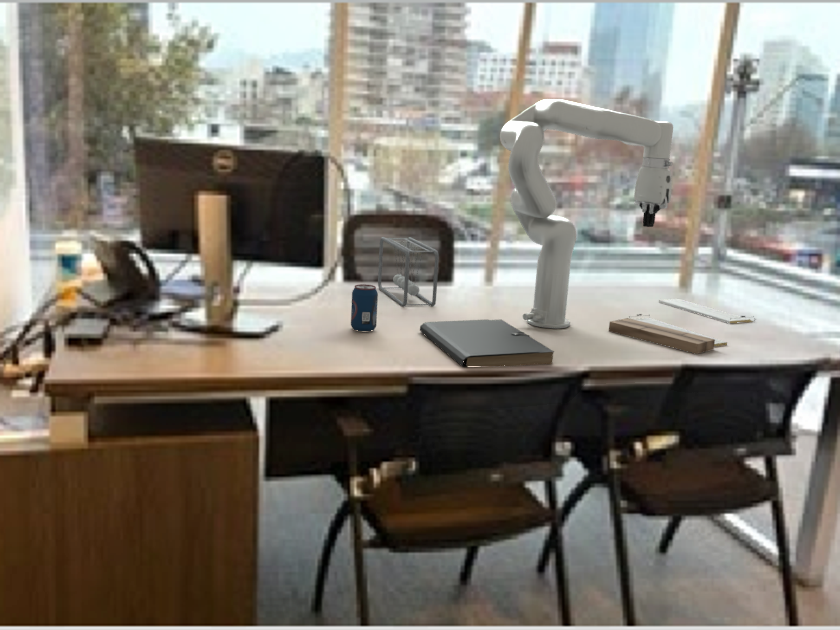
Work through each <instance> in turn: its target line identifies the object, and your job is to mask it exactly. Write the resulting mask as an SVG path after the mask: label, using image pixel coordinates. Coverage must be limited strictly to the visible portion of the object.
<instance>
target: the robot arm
mask: <svg viewBox="0 0 840 630" xmlns="http://www.w3.org/2000/svg"><path fill="white" fill-rule="evenodd" d="M547 130H550V131H558V132H562V133H566V134H572V135H577V136H582V137H585V138H589V139H595V140H603V141H604V140H608V141H609V140H611V141H619V142H621V143H623V144H624V145H628V146H634V147H635V146H637V147H643V155H642V163H641V164H642V165H641V167H639V170H638V173H637V176H636V177H637V178H636V182H635V186H634V195H633V196H634V197H633V198H634V202H633V203H634V205H635V206H638V207H640V209H641V211H642V213H643V216H642V217H643V219H642V222H643V223H642V226H643V227H646V228H652V227H654V226H655V223H656V222H655V220H656V214H657V213H658V212H659V211H660V210H663V209H668V205H669V203H671V198H672V188H673V187H672V185H673V183H672V171H671V169H669V168H670V167H672V166H673V161H671V159H670V158H671V151H672V150H671V149H672V143H673V142H672V140H673V134H674V125H673V123H672V122H669V121H663V120H661V121H660V120H654V119H650V118H647V117H643V116H638V115H634V114H629V113H623V112H619V111H614V110H610V109H607V108H601V107H596V106H592V105H588V104H583V103H579V102H576V101H570V100H566V99H561V98H544V99H542V100H540V101H537V102H535V104H533V105H531V106H529V107H528V108H526V109H525V110H523V111H522V112H520V113H519V114H518V115H516V116H514V117H513V118H511V119H510V120H508V121H507V122H506V123H504V125H503V126H502V128H501V130H500V134H499V139H500V143H501V145H502V147H503V148H505V149H506V150H507V151H510V154H509V158H508V166H507V169H508V174H509V178H510V180H511V182H512V184H513V186H514V188H513V189H512V191H511V195H510V203H511V208H512V210H513V212H514V214H515V216H516V217H517V219H518V221H519V223H520V224H521V226H522V228H523V230H524V231H525V233H526V235H527V236H528V238H529V239H530V240H531V241H532V242H534V243H536V244H538V245H540V246H541V250H540V252H539V255H538V258H537V263H536V272H535V273H536V275H535V284H534V285H535V287H534V295H533V296H534V297H533V307H532V308H531V309H530V310H531V311H530V312H526V313H524V314H523V315H522V319H523V320H524V321H526V322H527V323H528V324H529V325H531V326H535V327H538V328H544V329H545V328H546V329H564V328H568V327H570V326H571V321H570V320H569V319H567V318H566V314H567V306H568V305H567V303H568V295H569V293H568V292H569V282H570V273H571V272H570V271H571V263H572V257H573V252H574V248H575V245H576V240H577V229H576V226H575V225H574V223H573V222H572V221H571V219H568V218H567V217H563V216H561V215H557V214H554V213H555V210H556V209H557V199H556V196H555V194H554V192H553V190H552V189H551V187H550V185H549V183H548V181H547V180H546V177H545V176H544V174H543V172H542V169H541V167H540V163H539V158H540V153H541V150H542V148H543V145H544V143H545V131H547Z"/></svg>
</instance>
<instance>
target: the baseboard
mask: <svg viewBox="0 0 840 630" xmlns="http://www.w3.org/2000/svg"><path fill="white" fill-rule="evenodd" d="M639 316H643V314H642V313H639V314H636V315H635V316H632V317H639ZM647 316H648V317H647ZM628 317H629V318H631V315H630V316H628ZM633 319H634V320H638V321H642V322H646V323H650V324H654V325H658V326H662V327H666V328H670V329H674V330H678V331H682V332H686V333H691V334H695V335H699V336H703V337H707V338H711V339H715V343H714V346H716V347H721V346H720V345H725V346H727V345H728V342H727V341H724V340H722V339H718V338H715V337H711V336H709V335H705V334H702V333H699V332H696V331H692V330H689V329H688V328H684V327H680V326H678V325H677V326H676V325H673V324H670V323H668V322H664V321H661V320H658V319H656V318H651V317H650V314H648V315H644V317H643V318H642V317H640V318H633Z"/></svg>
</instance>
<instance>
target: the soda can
mask: <svg viewBox="0 0 840 630" xmlns="http://www.w3.org/2000/svg"><path fill="white" fill-rule="evenodd" d="M378 293H379V292H378V290H377V286H375V285H373V284H365V283H364V284H355V285H354V287H353V289H352V291H351V312H350V326H351V328H352V330H353V329H354V330H358V331H371V330H373V331H375V329H376V327H377V324H378V323H377V319H378V317H377V315H378V297H379V294H378ZM354 330H353V331H354Z"/></svg>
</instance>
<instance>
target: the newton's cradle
mask: <svg viewBox="0 0 840 630" xmlns="http://www.w3.org/2000/svg"><path fill="white" fill-rule="evenodd" d="M396 240H404V241H406V242H405V245H403V244H402V243H400V242H398V241H396ZM384 242H385V243H387V244H389V245H390V246H392V247H394V249H397V251H398V252H397V251H394V255H395V257H397V254H396V252H397V253H398V254H400V252H401V253H404V256H403V255H401V258H402V263H401V264H399V268H400V272H399V271H398V270H399V269H398V267H396V268H397V269H396V270H397V274H396V275H394V276H393V278H392V279H393V280H392V283H393V284H394V285H395V286H396V287H395V286H394V287H393V286H392V287H391V286H389V287H386V286H385V287H383V286H382V285H383V284H382V274H383V273H382V272H383V251H384V250H383V249H384ZM413 246H414V247H413ZM412 247H413V249H412ZM416 247H417V250H416ZM420 249H421V250H420ZM378 251H379V252H378V270H377V271H378V276H377V287H378V289H379V290H380V289H381V290H382V292H383V293H384V292H385V293H386V294H385V293H384V294H385V295H387V296H388V295H389V296H390V297H389V296H388V297H389V298H391V299H392V300H393V299H394V302H396V303H397V302H398V303H399V304H398V303H397V304H398V305H400V306H401V307H402V306H405V307H406V306H430V305H431V307H434V306H435V305H436V302H437V287H438V273H439V259H440V257H439V251H438V250H437V249H435V248H434V247H431V246H429V245H427V244H425V243H423V242H421V241H419V240H416V239H414V238H413V237H411V236H409V237H408V238H407V237H405V238H403V237H398V238H397V237H395V238H394V237H385V236H381V238H380V239H379V250H378ZM410 253H412V255H414V254H415V253H417V254H416V256H418V255H419V253H421V255H420V259H419V264H418V268H417V273H416V277H415V280H414V282H413V276H414V272H415V268H416V263H417V258H418V257H416V258H415V262H414V267H413V271H412V272H411V270H412V262H413V258H414V256H412V258H411V257H410ZM423 253H433V254H434V268H433V269H434V270H433V284H432V300H429V299H428V298H426V297H425V296H424V295H422V294H420V286H419V285H417V284H416V282H417V276H418V273H419V268H420V265H421V261H422V256H423ZM398 257H399V258H398V259H395V262H396V263H395V264H396V265H398V261H397V260H399V262H401V259H400V256H398ZM404 258H405V259H404ZM404 261H405V263H404ZM402 268H404V270H403V269H402ZM402 270H403V274H402ZM409 275H410V276H411V279H410V277H409ZM397 286H398V287H397ZM387 289H402V290H403V301H402V300H401V299H399V298H398V297H397V296H396V295H394V294H393V293H391V292H389V290H387ZM381 290H380V291H381ZM408 295H410V296H413V297H415V296H416V297H417V296H418V297H417V298H419V299H420V298H421V299H420V300H421V301H423V302H424V303H408ZM427 303H428V304H427Z"/></svg>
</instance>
